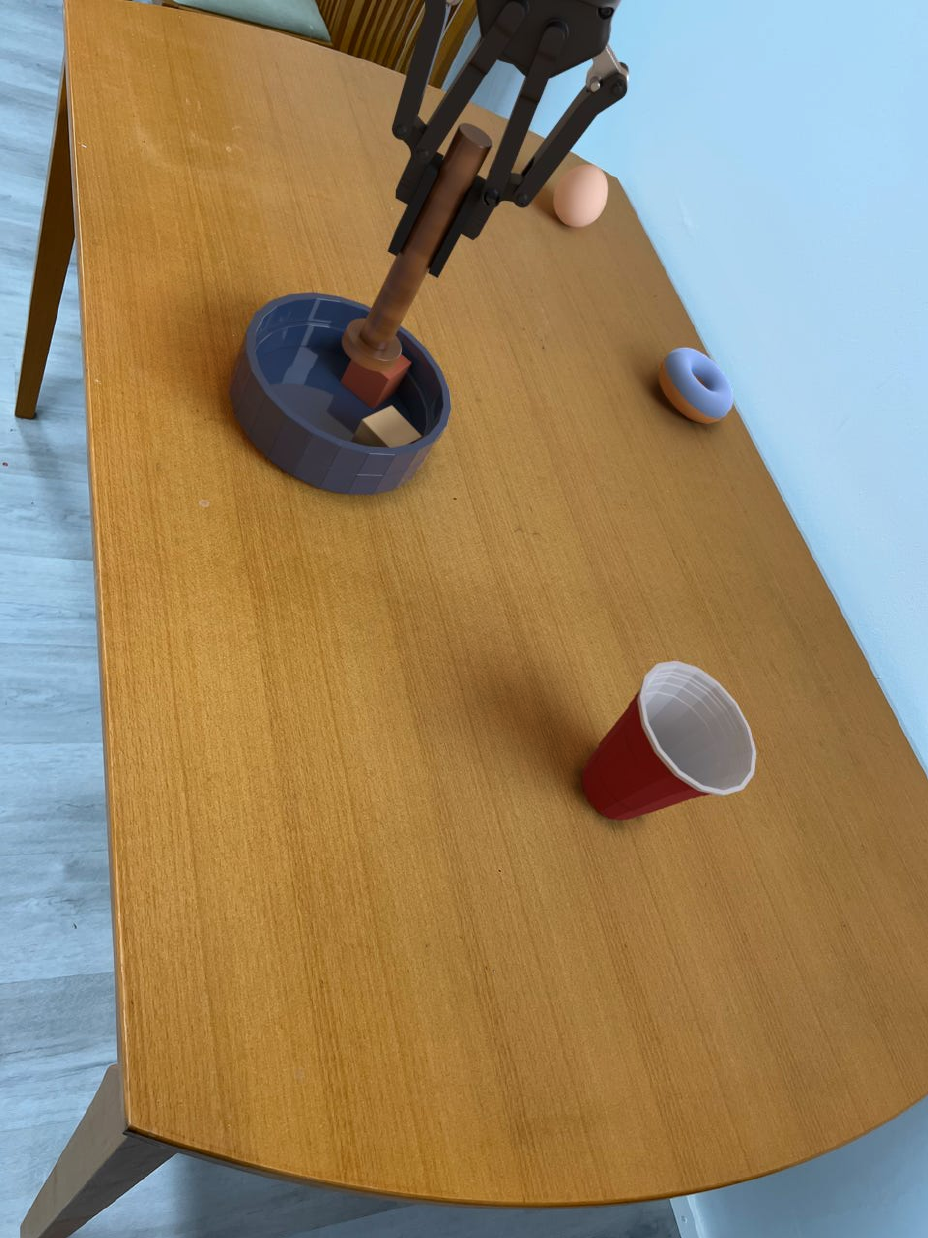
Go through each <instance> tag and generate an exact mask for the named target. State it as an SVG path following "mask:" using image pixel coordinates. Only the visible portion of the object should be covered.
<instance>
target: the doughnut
mask: <svg viewBox="0 0 928 1238" xmlns="http://www.w3.org/2000/svg"><path fill="white" fill-rule="evenodd" d="M657 373H658V380H659V385H660V387H661V389H662V391H663V393H664V395H665V397H666V398H667V399H668V400H669V402H670V403H671V404H672V406H673V407H675V409H677V411H678V412H680V413H681V414H683V415H684V416H685V417H686V418H687V419H689V420H692V421H694V422H696V423H700V424H704V425H708V424H713V423H717V422H719V421H721V420H722V419H723V418H724V417H726V416H727V414H728V413H729V412H730V410H731V409H732V407H733V404H734V403H733V402H734V391H733V389H732V386H731V384H730V382H729V379H728V378H727V376H726V374H725V373H724V372H723V370H722V369H721V368H720V367H719V366H718V365H717V364H716V362H714V361H713V360H712V359H711V358H710V357H709V356H707V355H706V354H704V353H702V352H701V351H699V350H697V349H694V348H691V347H679V348H678V347H677V348H675V349H673V350H671V351H670V352H669V353H668V354H667V355H666V356H665V357H664V358H663V359H662V360H661V361H660V364H659V367H658V372H657Z"/></svg>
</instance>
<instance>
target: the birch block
mask: <svg viewBox="0 0 928 1238" xmlns="http://www.w3.org/2000/svg"><path fill="white" fill-rule="evenodd" d="M421 438H422V436H421V435H420V434H419V433H418V432H417V431H416V430H415V429H414V428H413V427H412V426H411V425H410V424H409V423H408V421H407V420H406V419H405V418H404V417H403V416H402V415H401V414H400V413H399V412H398V411H397V410H396V409H395V408H394V407H393V406H392V405H391V406H389V407H387V408H385V409H383V410H381V411H379V412H377V413H374V414H372V415H370V416H368V417H366V418H364V419H362V421H361V423H360V424H359V426H358V428H357V430H356V432H355V434H354V436H353V438H352V440H351V442H353V443H356V444H360V445H364V446H368V447H386V448H393V447H398V446H403V445H408V444H413V443H415V442H417V441H418V440H420V439H421Z"/></svg>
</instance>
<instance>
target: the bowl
mask: <svg viewBox="0 0 928 1238" xmlns="http://www.w3.org/2000/svg"><path fill="white" fill-rule="evenodd" d="M371 308H372V306H371V307H370V306H369V305H367V304H365V303H362V302H359V301H356V300H353V299H349V298H346V297H343V296H341V295H335V294H328V293H320V292H314V291H313V292H310V291H309V292H297V293H295V292H294V293H287V294H286V295H285V294H284V295H282V296H280V297H276V298H273V299H271V300H269V301H268V302H267V303H266V304H264V305H263V306H262V307H261V308H259V309H258V310H257V311H256V312H255V313H254V315H253V317H252V318H251V319H250V322H249V324H248V326H247V328H246V330H245V332H244V336H243V339H242V341H241V344H240V347H239V350H238V352H237V355H236V358H235V361H234V364H233V367H232V369H231V372H230V377H229V390H228V391H229V392H228V394H229V399H230V402H231V406H232V410H233V413H234V416H235V419H236V420H237V422H238V424H239V425H240V427H241V429H242V430H243V432H244V433H245V435H246V437H247V438H248V439H249V441H250V442H251V443H252V444H253V445H254V446H255V447H256V449H257V450H258V451H259V452H260V453H261V454H262V455H263V456H264V457H265V458H266V459H267V460H269V461H270V463H272V464H273V465H275V466H276V467H277V468H279V469H280V470H282V471H283V472H285V473H287V474H288V475H289V476H291V477H292V478H295V479H297V480H299V481H301V482H302V483H305V484H307V485H310V486H311V487H312V486H313V487H314V488H317V489H320V490H324V491H327V492H330V493H331V492H332V493H336V494H340V495H341V494H342V495H350V496H351V495H353V496H361V495H362V496H374V495H379V494H382V493H383V494H384V493H386V492H391V491H392V492H393V491H394V490H396V489H398V488H400V487H401V486H403V485H405V484H407V483H408V482H410V481H412V480H413V478H414V477H415V476H416V475H417V474H418V472H419V471H420V470H421V468H422V467H423V466H424V465H425V462H426V461H427V459H428V458H429V456H430V455H431V453H432V451H433V450H434V449H435V446H436V445H437V443H438V441H439V440H440V438H441V437H442V435H443V433H444V432H445V431H446V428H447V427H448V424H449V419H450V416H451V412H452V401H451V392H450V388H449V385H448V382H447V380H446V378H445V375H444V373H443V370H442V368H441V367H440V366H439V364H438V363H437V361H436V360H435V358H434V357H433V355H432V354H431V352H430V351H429V350H428V348H426V346H425V345H424V344H422V343H421V341H419V339H417V337H416V336H414V335H413V334H412V332H410V331H409V330H408V329H406V328H405V327H404V326H402V324H401V325H400V327H399V329H398V331H397V333H396V337H397V338H398V340H399V341H400V344H401V347H402V351H401V354H402V355H403V356H404V357H405V358H407V359H408V360H409V361H410V362H411V365H410V367H409V368H408V370H407V372H406V374H405V376H404V378H403V379H402V381H401V383H400V385H399V387H398V389H397V391H396V392H395V393H394V394H393V395H391V396H390V397H389V398H388V399H386V400H385V401H384V402H382V403H381V404H380V405H378V406H377V407H376V408H375V409H372V408H371V407H370V406H368V405H367V404H366V403H365V402H364V401H362V400H361V399H360V398H359V397H358V396H356V395H355V394H354V393H353V392H352V391H350V390H349V389H348V388H347V387H345V386H344V385H343V384H342V383H341V380H342V378H343V376H344V374H345V372H346V370H347V368H348V365H349V363H350V361H351V358H350V357H349V356H348V355H347V354H346V352H345V351H344V348H343V346H342V337H343V335H344V333H345V330H346V328H347V326H348V324H349V323H350V322H351V321H353V320H356V319H366V318H367V316H368V314H369V312H370V310H371ZM391 405H392V406H393V407H394V408H395V409H396V410H397V411H398V412H399V413H400V414H401V415H402V416H403V417H404V418H405V419H406V420H407V421H408V423H409V424H410V425H411V426H412V427H413V428H414V429H415V430H416V431H417V432H418V433H419V434H420V435H421V436H422V438H421V439H420V440H418V441H417V442H415V443H413V444H408V445H403V446H398V447H393V448H386V447H368V446H364V445H360V444H356V443H353V442H351V440H352V438H353V436H354V434H355V432H356V430H357V428H358V426H359V424H360V423H361V421H362V419H364V418H366V417H368V416H370V415H372V414H374V413H377V412H379V411H381V410H383V409H385V408H387V407H389V406H391Z"/></svg>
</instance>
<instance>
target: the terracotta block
mask: <svg viewBox="0 0 928 1238" xmlns="http://www.w3.org/2000/svg"><path fill="white" fill-rule="evenodd" d="M410 365H411V362H410V361H409V360H408V359H407V358H405V357H404V356H403V355H402V354H401V355H400V357H399V359H398V360H397V362H396V364H395V366H394V367H393V368H392V369H390V370H388V371H384V372H378V371H373V370H369V369H366V368H364V367H362V366H360V365H359V364H357V363H356V362H354V361H353V360H352V359H351V361H350V363H349V365H348V368H347V370H346V372H345V374H344V376H343V378H342V380H341V383H342V384H343V385H344V386H345V387H347V388H348V389H349V390H350V391H352V392H353V393H354V394H355V395H356V396H358V397H359V398H360V399H361V400H362V401H364V402H365V403H366V404H367V405H368V406H370V407H371V408H372V409H375V408H376V407H377V406H378V405H380V404H381V403H382V402H384V401H385V400H386V399H388V398H389V397H390V396H391V395H393V394H394V393H395V392H396V391H397V389H398V387H399V385H400V383H401V381H402V379H403V378H404V376H405V374H406V372H407V370H408V368H409V367H410Z"/></svg>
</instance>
